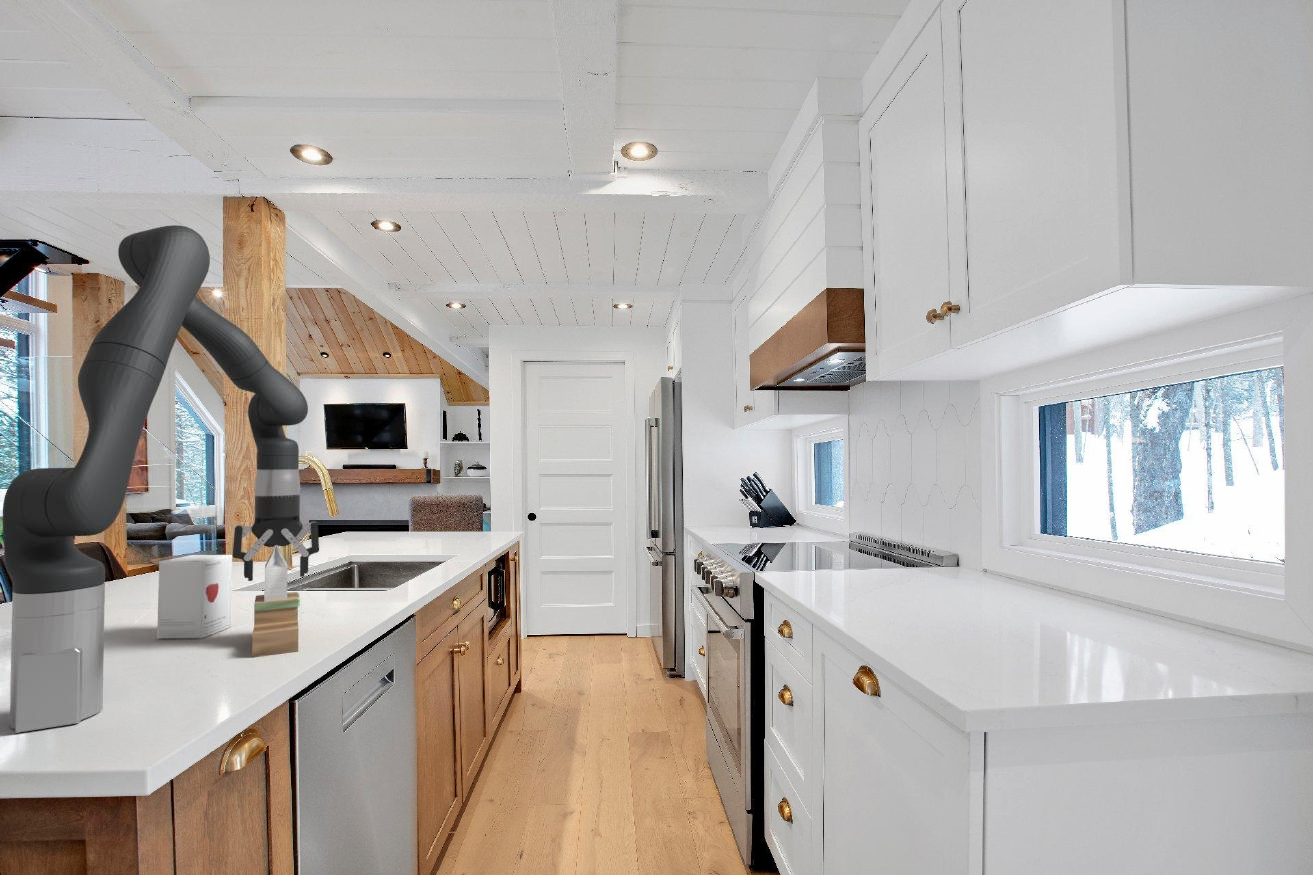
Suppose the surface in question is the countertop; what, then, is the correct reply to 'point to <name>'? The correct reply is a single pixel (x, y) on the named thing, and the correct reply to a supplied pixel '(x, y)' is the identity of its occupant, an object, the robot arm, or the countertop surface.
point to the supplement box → (194, 596)
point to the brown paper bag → (275, 625)
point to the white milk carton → (275, 577)
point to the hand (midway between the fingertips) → (276, 578)
